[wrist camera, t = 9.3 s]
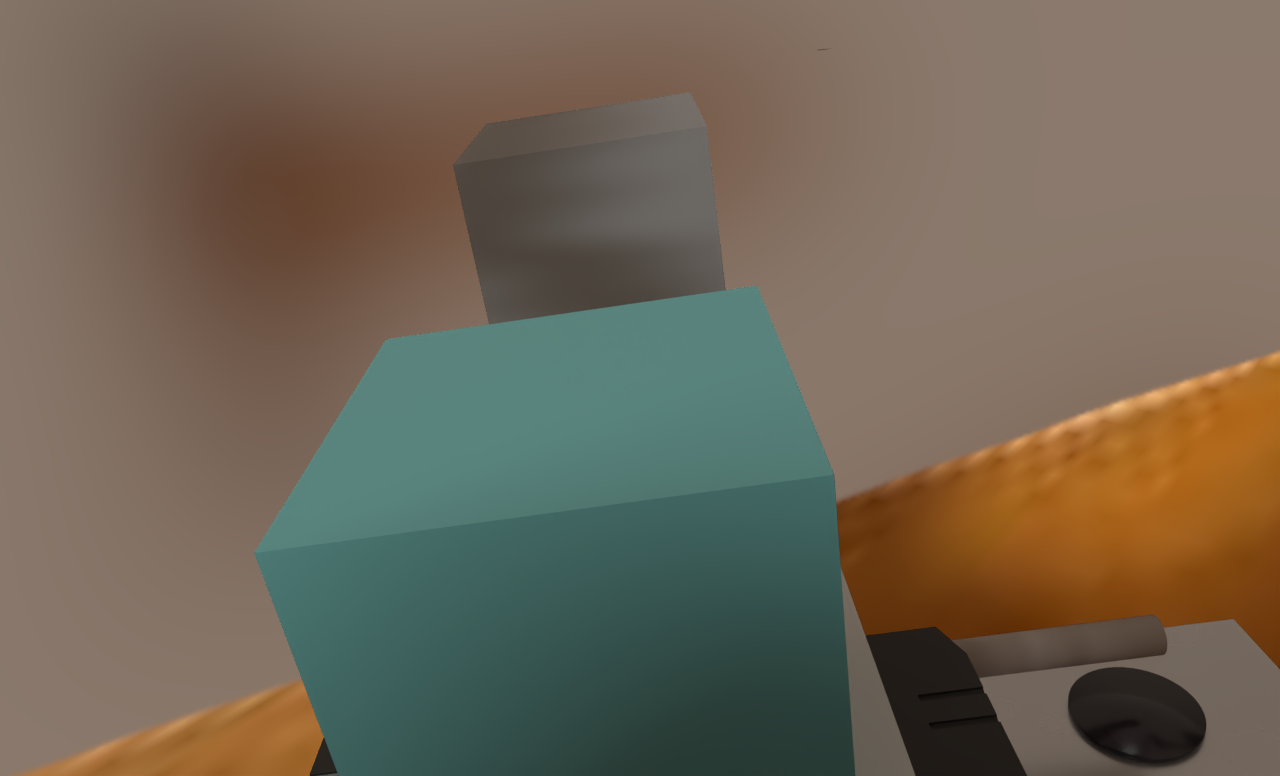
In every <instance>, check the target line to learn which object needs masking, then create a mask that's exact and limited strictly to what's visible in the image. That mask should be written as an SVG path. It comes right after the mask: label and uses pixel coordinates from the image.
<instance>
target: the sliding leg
mask: <svg viewBox="0 0 1280 776" xmlns="http://www.w3.org/2000/svg"><path fill="white" fill-rule="evenodd" d="M254 554H255V556H256V559H257V562H258V564H259V567H260V569H261V572H262V575H263V578H264V580H265V582H266V585H267V588H268V591H269V593H270V596H271V598H272V601H273V604H274V606H275V609H276V611H277V614H278V617H279V620H280V622H281V625H282V628H283V630H284V633H285V636H286V638H287V641H288V643H289V646H290V648H291V651H292V654H293V657H294V659H295V662H296V665H297V667H298V670H299V672H300V675H301V678H302V680H303V683H304V686H305V688H306V691H307V694H308V696H309V699H310V702H311V704H312V707H313V710H314V712H315V715H316V717H317V720H318V723H319V725H320V728H321V731H322V733H323V736H324V739H325V741H326V744H327V746H328V749H329V752H330V754H331V757H332V760H333V762H334V765H335V768H336V770H337V773H338V775H339V776H855V762H854V748H853V734H852V720H851V706H850V692H849V678H848V663H847V649H846V635H845V621H844V607H843V593H842V579H841V565H840V550H839V536H838V522H837V508H836V494H835V480H834V473H833V471H832V469H831V466H830V463H829V461H828V458H827V456H826V453H825V451H824V449H823V446H822V444H821V441H820V439H819V436H818V434H817V432H816V429H815V426H814V424H813V422H812V420H811V417H810V414H809V412H808V409H807V407H806V404H805V402H804V399H803V397H802V395H801V392H800V390H799V387H798V385H797V382H796V380H795V377H794V375H793V372H792V370H791V368H790V365H789V363H788V360H787V358H786V355H785V353H784V351H783V348H782V346H781V343H780V341H779V338H778V336H777V333H776V331H775V328H774V326H773V323H772V321H771V318H770V316H769V314H768V311H767V309H766V306H765V304H764V301H763V299H762V296H761V294H760V291H759V289H758V287H757V286H751V287H744V288H738V289H730V290H724V291H717V292H710V293H703V294H696V295H689V296H682V297H675V298H668V299H661V300H655V301H648V302H641V303H634V304H627V305H620V306H613V307H606V308H599V309H592V310H585V311H579V312H572V313H565V314H558V315H551V316H544V317H537V318H530V319H523V320H516V321H510V322H503V323H496V324H489V325H482V326H475V327H468V328H461V329H454V330H447V331H440V332H434V333H427V334H420V335H413V336H406V337H400V338H392V339H386V341H385V342H384V344H383V345H382V347H381V349H380V350H379V352H378V354H377V355H376V357H375V358H374V360H373V362H372V363H371V365H370V366H369V368H368V370H367V371H366V373H365V375H364V376H363V378H362V379H361V381H360V383H359V384H358V386H357V387H356V389H355V391H354V392H353V394H352V396H351V397H350V399H349V400H348V402H347V404H346V405H345V407H344V409H343V410H342V412H341V413H340V415H339V417H338V418H337V420H336V422H335V423H334V425H333V426H332V428H331V430H330V431H329V433H328V434H327V436H326V438H325V439H324V441H323V443H322V444H321V446H320V447H319V449H318V451H317V452H316V454H315V456H314V457H313V459H312V460H311V462H310V464H309V465H308V467H307V469H306V470H305V472H304V473H303V475H302V477H301V478H300V480H299V481H298V483H297V485H296V486H295V488H294V490H293V491H292V493H291V494H290V496H289V498H288V499H287V501H286V502H285V504H284V506H283V507H282V509H281V511H280V512H279V514H278V515H277V517H276V519H275V520H274V522H273V523H272V525H271V527H270V528H269V530H268V532H267V533H266V535H265V536H264V538H263V540H262V541H261V543H260V545H259V546H258V548H257V549H256V551H255V553H254Z"/></svg>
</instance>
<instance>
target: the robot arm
mask: <svg viewBox="0 0 1280 776" xmlns="http://www.w3.org/2000/svg"><path fill="white" fill-rule="evenodd" d="M841 579H842V593H843V607H844V621H845V635H846V649H847V663H848V678H849V692H850V706H851V720H852V734H853V748H854V762H855V776H1027V774H1026V772H1025V770H1024V768H1023V766H1022V764H1021V762H1020V760H1019V758H1018V756H1017V754H1016V752H1015V750H1014V748H1013V746H1012V744H1011V742H1010V740H1009V738H1008V736H1007V734H1006V732H1005V730H1004V728H1003V726H1002V724H1001V722H999V721H998V718H997V714H996V712H995V710H994V707H993V705H992V703H991V701H990V699H989V697H988V695H987V693H984V689H983V685H982V683H981V681H980V679H979V677H978V675H977V673H976V671H975V669H974V667H973V665H972V663H971V661H970V659H969V657H968V655H967V653H966V652H965V651H963V650H962V649H961V648H960V647H959V646H958V645H956V644H955V643H954V642H953V641H952V640H950V639H949V638H948V637H947V636H946V635H945V634H943V633H942V632H941V631H940V630H939V629H937V628H936V627H930V628H922V629H914V630H906V631H899V632H891V633H883V634H875V635H868V636H865V633H864V630H863V628H862V625H861V622H860V619H859V616H858V614H857V611H856V608H855V605H854V602H853V600H852V597H851V594H850V591H849V588H848V586H847V583H846V580H845V577H844V574H843V572H842V569H841ZM310 776H339V775H338V773H337V770H336V768H335V765H334V762H333V760H332V757H331V754H330V752H329V749H328V746H327V744H326V741H325V739H324V738H323V741H322V744H321V746H320V749H319V751H318V754H317V757H316V759H315V762H314V765H313V767H312V770H311V772H310Z"/></svg>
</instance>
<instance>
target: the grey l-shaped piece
mask: <svg viewBox="0 0 1280 776" xmlns="http://www.w3.org/2000/svg"><path fill="white" fill-rule="evenodd" d="M453 168H454V172H455V176H456V181H457V185H458V190H459V194H460V198H461V202H462V207H463V211H464V216H465V220H466V225H467V229H468V233H469V238H470V242H471V247H472V251H473V255H474V260H475V264H476V269H477V273H478V277H479V282H480V286H481V291H482V295H483V299H484V303H485V308H486V312H487V317H488V321H489V324H496V323H503V322H510V321H516V320H523V319H530V318H537V317H544V316H551V315H558V314H565V313H572V312H579V311H585V310H592V309H599V308H606V307H613V306H620V305H627V304H634V303H641V302H648V301H655V300H661V299H668V298H675V297H682V296H689V295H696V294H703V293H710V292H717V291H724V290H726V289H725V282H724V281H725V280H724V272H723V264H722V255H721V246H720V238H719V229H718V220H717V211H716V203H715V194H714V185H713V176H712V167H711V159H710V150H709V142H708V133H707V126H706V124H705V122H704V120H703V118H702V116H701V113H700V111H699V110H698V107H697V105H696V103H695V101H694V99H693V97H692V95H691V93H690V92H689V93H682V94H676V95H670V96H663V97H657V98H650V99H644V100H637V101H631V102H625V103H619V104H611V105H606V106H598V107H593V108H586V109H580V110H573V111H566V112H560V113H553V114H547V115H541V116H534V117H528V118H521V119H514V120H509V121H501V122H495V123H488V124H486V125H485V126H484V127H483V129H482V130H481V131H480V132H479V134H478V135H477V136H476V137H475V139H474V140H473V141H472V142H471V144H470V145H469V146H468V147H467V148H466V150H465V151H464V152H463V153H462V154H461V156H460V157H459V158H458V160H457V161H456V162H455V163H454V164H453ZM952 641H953V642H954V643H955V644H956V645H958V646H959V647H960V648H961V649H962V650H963V651H965V652H966V653H967V655H968V657H969V659H970V661H971V663H972V665H973V667H974V669H975V671H976V673H977V675H978V677H979V678H984V677H992V676H1000V675H1008V674H1016V673H1024V672H1032V671H1040V670H1048V669H1056V668H1064V667H1072V666H1080V665H1088V664H1096V663H1104V662H1112V661H1120V660H1128V659H1136V658H1144V657H1152V656H1160V655H1164V654H1165V653H1166V652H1167V637H1166V633H1165V630H1164V628H1163V626H1162V624H1161V622H1160V620H1159V619H1158V618H1157V617H1156V616H1154V615H1147V616H1139V617H1131V618H1123V619H1115V620H1107V621H1100V622H1092V623H1084V624H1076V625H1068V626H1060V627H1052V628H1044V629H1036V630H1028V631H1021V632H1013V633H1005V634H997V635H989V636H981V637H973V638H965V639H957V640H952Z"/></svg>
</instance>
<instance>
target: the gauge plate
mask: <svg viewBox="0 0 1280 776" xmlns="http://www.w3.org/2000/svg"><path fill="white" fill-rule="evenodd" d="M1164 630H1165V633H1166V637H1167V652H1166V653H1165V654H1164V655H1160V656H1152V657H1144V658H1136V659H1128V660H1120V661H1112V662H1104V663H1096V664H1088V665H1080V666H1072V667H1064V668H1056V669H1048V670H1040V671H1032V672H1024V673H1016V674H1008V675H1000V676H992V677H984V678H979V679H980V681H981V683H982V685H983V689H984V693H987V695H988V697H989V699H990V701H991V703H992V705H993V707H994V710H995V712H996V714H997V718H998V721H999V722H1001V724H1002V726H1003V728H1004V730H1005V732H1006V734H1007V736H1008V738H1009V740H1010V742H1011V744H1012V746H1013V748H1014V750H1015V752H1016V754H1017V756H1018V758H1019V760H1020V762H1021V764H1022V766H1023V768H1024V770H1025V772H1026V774H1027V776H1280V669H1279V668H1278V667H1277V666H1276V665H1275V664H1274V663H1273V661H1272V660H1271V659H1270V658H1269V657H1268V656H1267V655H1266V654H1265V653H1264V652H1263V651H1262V649H1261V648H1260V647H1259V646H1258V645H1257V644H1256V643H1255V642H1254V641H1253V640H1252V639H1251V638H1250V636H1249V635H1248V634H1247V633H1246V632H1245V631H1244V630H1243V629H1242V628H1241V627H1240V626H1239V625H1238V623H1237V622H1236V621H1235V620H1234V619H1229V620H1221V621H1214V622H1206V623H1198V624H1190V625H1182V626H1174V627H1166V628H1164Z"/></svg>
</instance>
